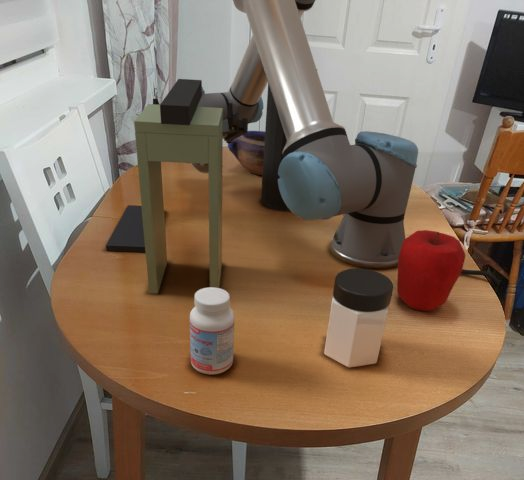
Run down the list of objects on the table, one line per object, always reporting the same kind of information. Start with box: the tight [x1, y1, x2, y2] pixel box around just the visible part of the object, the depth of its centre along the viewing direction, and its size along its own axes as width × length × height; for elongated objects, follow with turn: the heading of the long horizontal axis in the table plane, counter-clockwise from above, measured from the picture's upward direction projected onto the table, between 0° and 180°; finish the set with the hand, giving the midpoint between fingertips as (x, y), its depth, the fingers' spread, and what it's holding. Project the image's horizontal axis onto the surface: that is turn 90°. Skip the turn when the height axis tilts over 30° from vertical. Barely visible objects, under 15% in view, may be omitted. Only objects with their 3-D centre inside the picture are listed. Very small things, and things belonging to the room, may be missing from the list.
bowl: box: [227, 130, 265, 176], centre depth 146 cm, size 18×18×10 cm
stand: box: [133, 103, 224, 295], centre depth 87 cm, size 12×12×28 cm
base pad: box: [105, 204, 146, 253], centre depth 111 cm, size 22×8×1 cm, turn 1°
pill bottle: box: [189, 286, 235, 375], centre depth 71 cm, size 6×6×11 cm
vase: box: [260, 83, 290, 212], centre depth 119 cm, size 10×10×30 cm
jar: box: [323, 267, 394, 369], centre depth 75 cm, size 9×8×12 cm
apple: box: [396, 229, 466, 312], centre depth 87 cm, size 11×10×14 cm
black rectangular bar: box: [159, 78, 203, 125], centre depth 81 cm, size 22×4×2 cm, turn 1°
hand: (192, 108), depth 94 cm, fingers open, 13 cm apart
